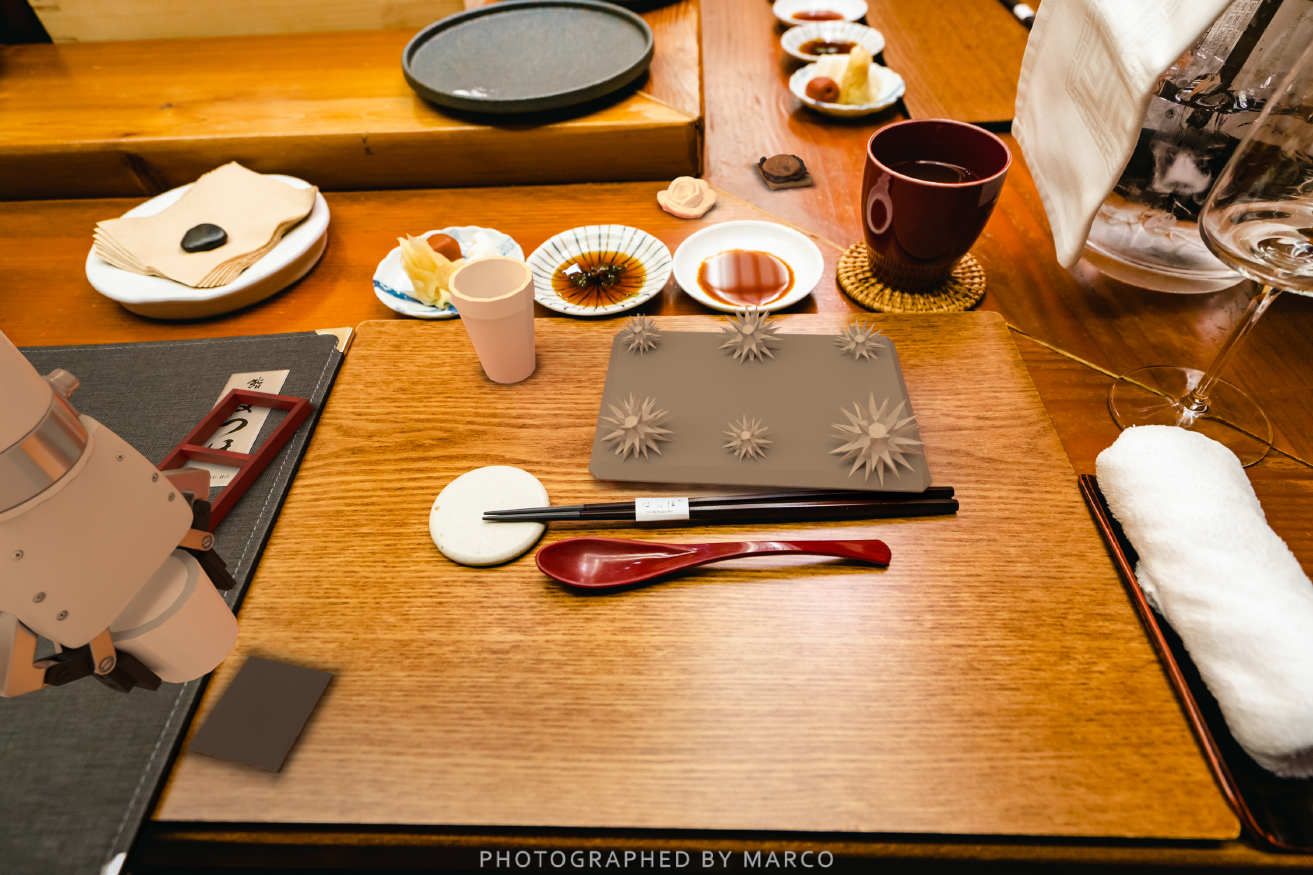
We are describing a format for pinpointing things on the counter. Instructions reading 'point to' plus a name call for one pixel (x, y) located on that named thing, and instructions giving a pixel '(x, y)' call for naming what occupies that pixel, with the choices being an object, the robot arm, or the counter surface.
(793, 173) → the chocolate cookie
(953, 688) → the counter surface
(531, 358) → the foam cup
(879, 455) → the decorative tray
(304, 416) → the frame
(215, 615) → the pink candle cup
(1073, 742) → the counter surface
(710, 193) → the rose
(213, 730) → the slate mat
